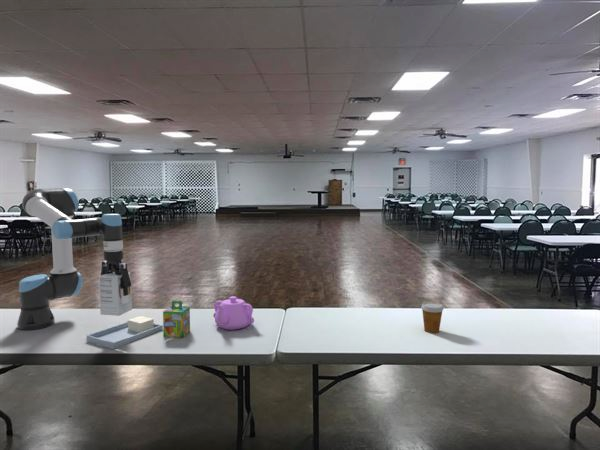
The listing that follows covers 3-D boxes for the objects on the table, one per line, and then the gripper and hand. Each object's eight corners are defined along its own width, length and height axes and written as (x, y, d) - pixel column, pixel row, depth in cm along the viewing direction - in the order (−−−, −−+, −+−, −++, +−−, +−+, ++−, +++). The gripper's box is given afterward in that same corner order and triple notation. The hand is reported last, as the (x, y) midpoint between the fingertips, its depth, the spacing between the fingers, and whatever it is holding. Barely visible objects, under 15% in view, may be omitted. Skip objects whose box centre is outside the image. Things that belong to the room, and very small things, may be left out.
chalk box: (163, 337, 185) (161, 304, 184) (171, 330, 194) (170, 298, 193) (183, 338, 184) (182, 304, 183) (190, 330, 194) (189, 299, 192)
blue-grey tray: (86, 341, 181) (86, 335, 181) (136, 324, 203) (136, 318, 203) (113, 349, 172) (113, 343, 172) (162, 330, 194) (162, 325, 193)
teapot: (197, 331, 192) (196, 302, 191) (223, 317, 212) (222, 290, 211) (239, 338, 184) (239, 307, 182) (262, 322, 204) (262, 294, 203)
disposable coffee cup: (444, 329, 193) (444, 303, 192) (441, 335, 185) (442, 309, 184) (422, 326, 197) (423, 300, 196) (419, 332, 189) (419, 306, 188)
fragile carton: (128, 329, 194) (127, 320, 193) (140, 325, 200) (140, 315, 199) (141, 333, 189) (140, 323, 189) (153, 328, 195) (153, 318, 195)
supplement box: (119, 316, 177) (117, 276, 176) (99, 315, 179) (97, 275, 177) (132, 309, 187) (130, 271, 185) (114, 308, 188) (112, 271, 187)
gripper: (88, 249, 183) (91, 299, 185) (123, 253, 171) (126, 307, 173) (104, 247, 189) (107, 295, 192) (138, 251, 177) (141, 302, 180)
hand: (116, 301), depth 182 cm, fingers closed on supplement box, 11 cm apart
